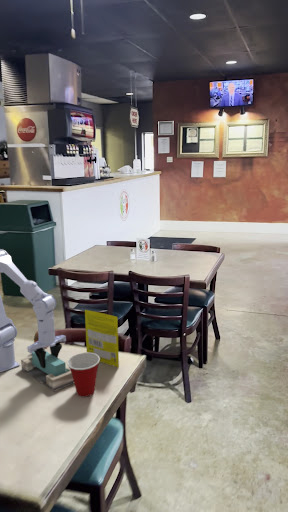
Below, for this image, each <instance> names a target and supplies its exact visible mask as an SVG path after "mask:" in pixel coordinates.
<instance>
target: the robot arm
mask: <svg viewBox="0 0 288 512" xmlns="http://www.w3.org/2000/svg"><path fill="white" fill-rule="evenodd" d="M1 273H2V274H3V273H4V274H5V276H7V277H8V278H10V280H11V281H13V282H14V284H16V285H18V286H19V287H20V289H19V291H20V293H21V294H22V295H23V296H24V298H26V300H27V301H28V302H29V303H31V305H33V306H32V310H33V311H34V313H35V317H36V319H37V331H38V336H39V341H37V342H35V343H34V342H33V343H32V344H30V345H27V348H26V349H27V352H28V353H30V354H32V353H33V351H34V352H35V354H36V356H37V357H38V360H39V362H40V365H41V367H42V368H45V365H46V364H45V356H46V352H47V351H46V350H45V351H46V352H45V351H44V349H43V348H45V347H47V348H48V347H49V350H50V354H52V355H53V356H55V357H57V358H58V357H59V354H60V352H61V350H62V348H63V344H61V342H67V336H66V335H64V334H61V335H56V332H55V315H54V313H55V312H54V309H56V307H57V300H56V298H55V297H54V295H52V294H51V293H50V294H48V293H46V292H45V291H43V290H42V289H41V288H40V287H39V286H38V283H37V282H35V281H34V280H29V279H27V277H25V275H24V274H23V272H21V271H20V269H19V268H18V267H17V266H16V265H15V264H14V262H13V261H12V256H11V255H10V254H9V253H8V252H7V251H6V250H4V249H3V248H2V249H1V248H0V274H1ZM17 335H18V329H17V327H16V326H15V325H14V322H13V319H11V318H9V317H8V316H7V314H6V309H5V307H4V302H3V298H2V295H1V294H0V373H2V372H6V371H9V370H12V369H14V368H16V367H19V366H21V365H20V363H19V362H17V361H16V356H15V345H14V344H15V343H14V342H15V338H16V337H17Z"/></svg>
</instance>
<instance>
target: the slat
mask: <svg viewBox="0 0 288 512" xmlns="http://www.w3.org/2000/svg"><path fill="white" fill-rule="evenodd" d="M44 351H45V352H46V356H45V364H46V365H45V368H42V367H41V365H40V362H39V360H38V357H37V356H36V354H35V352H34V351H33V353H31V356H32V361H33V365H34V366H36V367H37V368H39V369H41V370H42V371H44V372H45V373H47V374H48V375H49V374H52V375H54V376H55V377H57V376H59V375H62V374H64V373H66V368H67V367H66V362H65V361H64V360H62V359H60V358H57V357H55V356H53V355H52V354H51V352H48V351H47V350H44Z"/></svg>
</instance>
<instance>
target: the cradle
mask: <svg viewBox="0 0 288 512" xmlns="http://www.w3.org/2000/svg"><path fill="white" fill-rule="evenodd" d="M20 363H21V365H20V366H21V370H22V371H24V372H25V373H26V374H28V375H29V376H31V377H32V378H33V379H35V380H37V381H38V382H40V383H41V384H43V385H44V386H46V387H47V388H49V389H50V390H52V391H53V392H57V391H58V390H60V389H63V388H65V387H67V386H70V385H72V384H74V380H73V376H72V372H71V370H70V368H69V366H67V367H66V373H64V374H62V375H59V376H57V377H55V376H54V375H52V374H49V375H48V374H47V373H45V372H44V371H42V370H41V369H39V368H37V367H36V366H34V365H33V361H32V355H30V356H27V357H24V358H21V359H20Z"/></svg>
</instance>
